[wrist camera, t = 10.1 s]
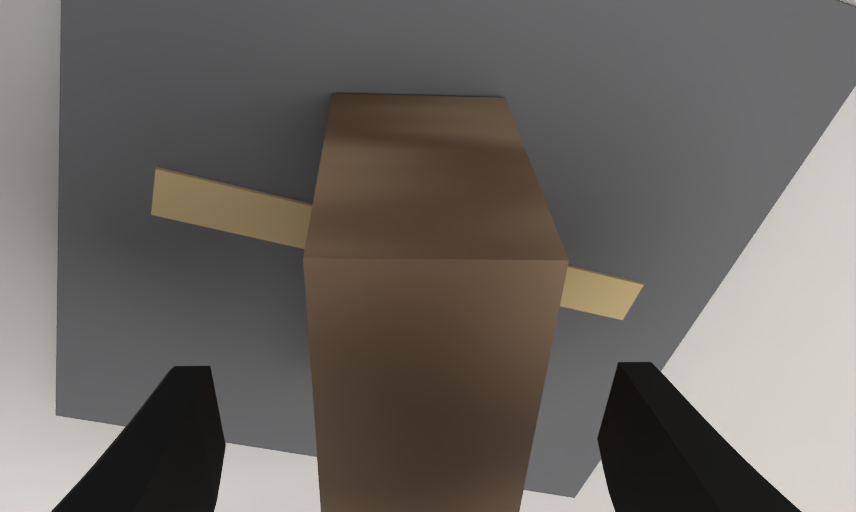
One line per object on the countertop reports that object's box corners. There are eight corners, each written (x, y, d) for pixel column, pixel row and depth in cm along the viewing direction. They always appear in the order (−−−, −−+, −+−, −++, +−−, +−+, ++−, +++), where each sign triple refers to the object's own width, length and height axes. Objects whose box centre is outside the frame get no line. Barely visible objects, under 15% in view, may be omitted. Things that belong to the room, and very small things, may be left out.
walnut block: (342, 374, 18) (326, 587, 13) (332, 93, 14) (302, 258, 9) (473, 374, 19) (505, 583, 14) (505, 98, 14) (569, 261, 9)
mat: (63, 402, 19) (54, 417, 19) (76, -276, 11) (62, -279, 10) (571, 485, 23) (575, 500, 22) (882, 16, 14) (900, 24, 14)
